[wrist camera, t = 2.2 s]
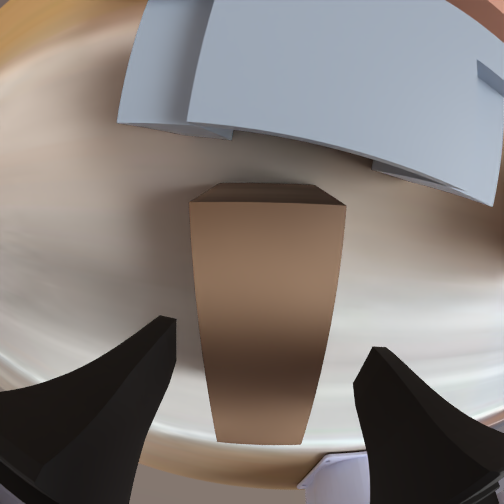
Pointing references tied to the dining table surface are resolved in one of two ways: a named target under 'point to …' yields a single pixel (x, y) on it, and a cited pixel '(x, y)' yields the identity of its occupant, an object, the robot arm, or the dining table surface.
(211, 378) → the peg
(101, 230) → the dining table surface
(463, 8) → the backstop
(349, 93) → the block
